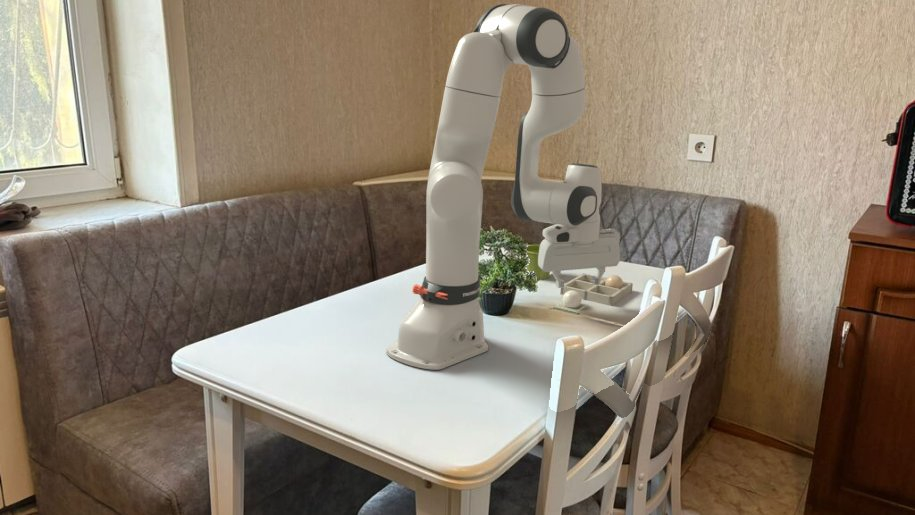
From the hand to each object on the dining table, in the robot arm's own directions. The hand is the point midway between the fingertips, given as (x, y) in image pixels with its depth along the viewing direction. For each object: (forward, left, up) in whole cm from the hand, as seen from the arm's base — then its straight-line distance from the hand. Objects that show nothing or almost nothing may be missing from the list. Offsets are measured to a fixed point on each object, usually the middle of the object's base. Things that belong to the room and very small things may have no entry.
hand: (578, 285), depth 168 cm
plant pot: (+16, +19, -6) cm, 25 cm away
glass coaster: (0, +1, -6) cm, 6 cm away
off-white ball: (0, +1, -6) cm, 6 cm away
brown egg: (+16, -3, -5) cm, 17 cm away
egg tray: (+13, 0, -6) cm, 14 cm away
